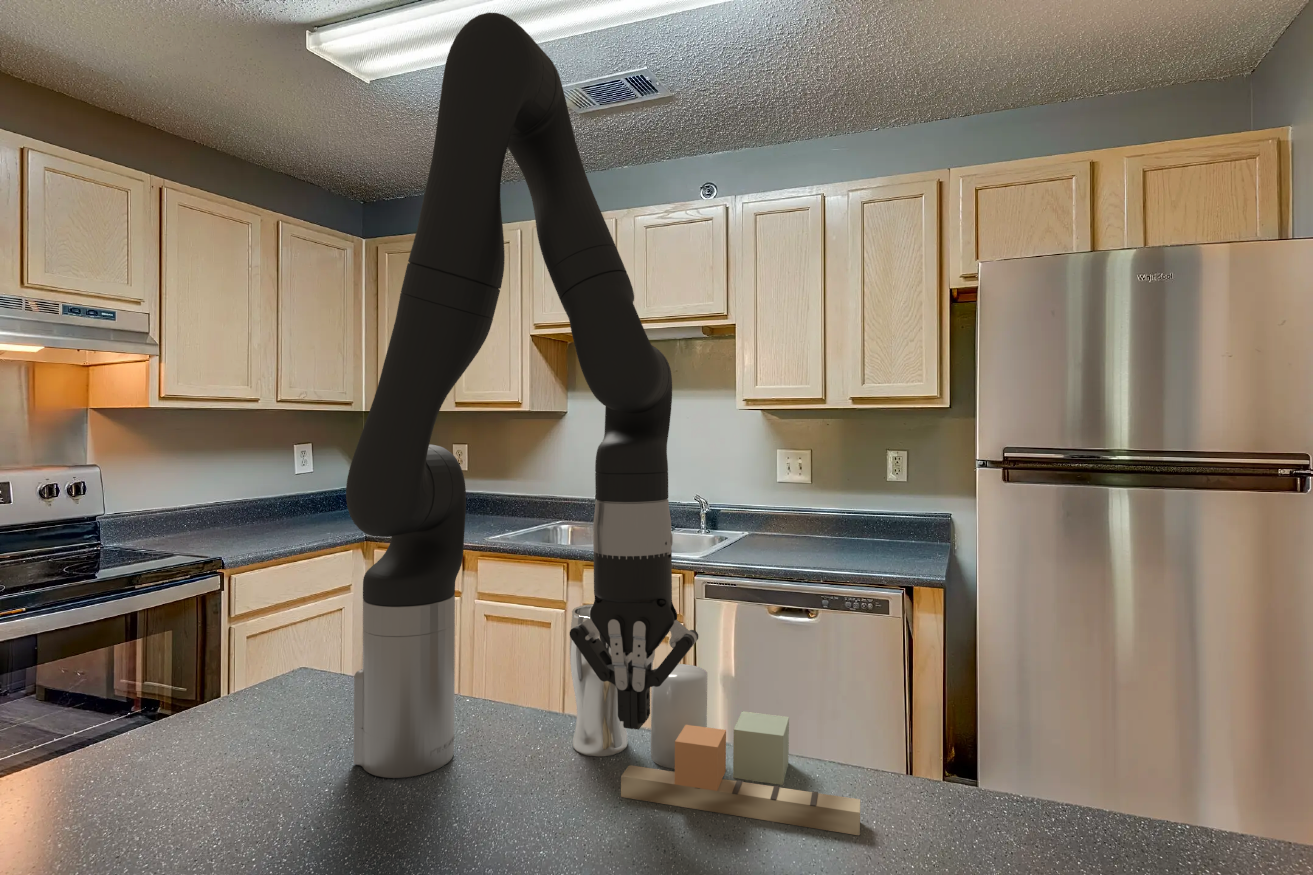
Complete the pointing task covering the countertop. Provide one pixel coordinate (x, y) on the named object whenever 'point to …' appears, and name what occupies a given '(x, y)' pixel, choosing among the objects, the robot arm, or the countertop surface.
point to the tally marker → (700, 757)
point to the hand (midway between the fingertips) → (634, 725)
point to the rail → (746, 800)
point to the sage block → (761, 747)
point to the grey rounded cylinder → (676, 710)
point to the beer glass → (594, 702)
